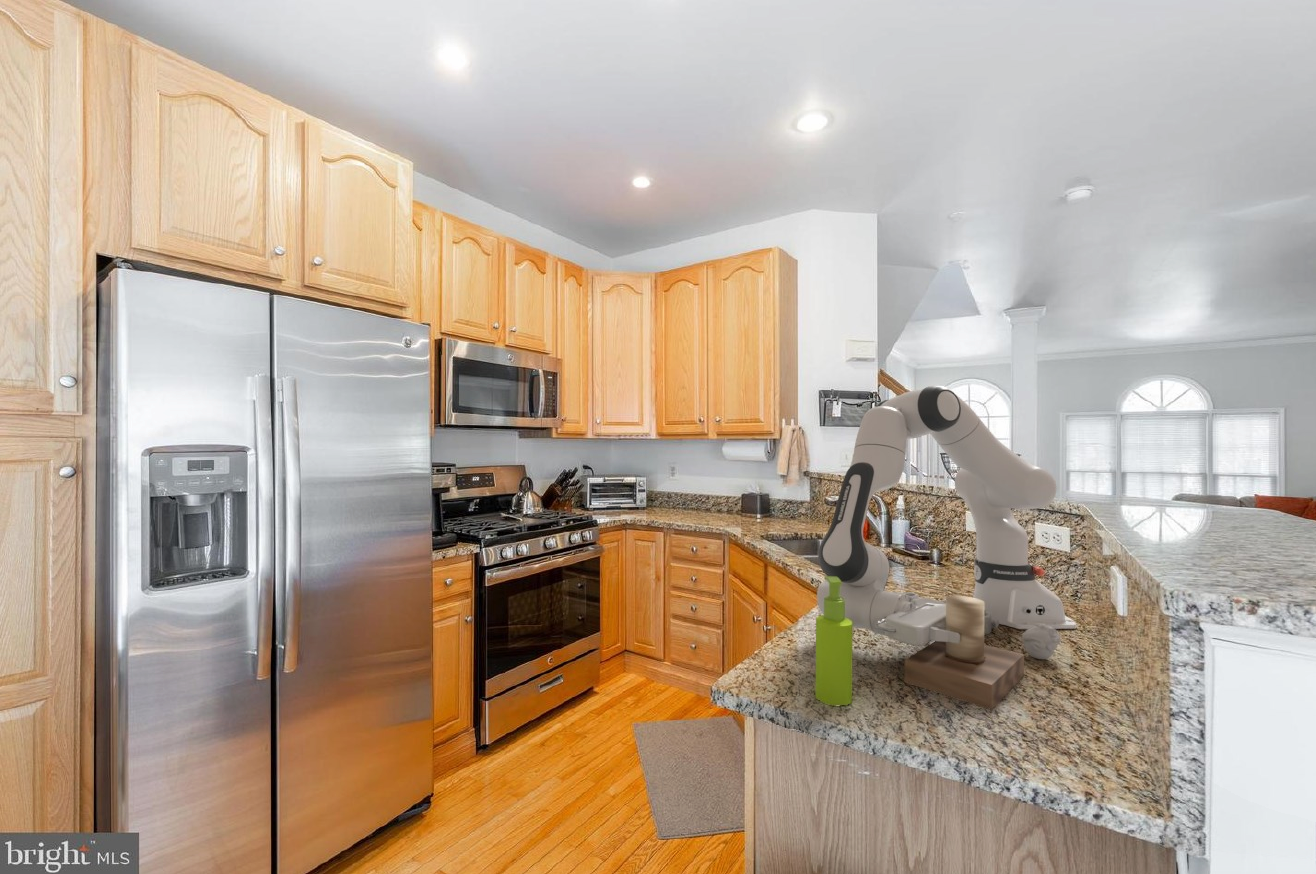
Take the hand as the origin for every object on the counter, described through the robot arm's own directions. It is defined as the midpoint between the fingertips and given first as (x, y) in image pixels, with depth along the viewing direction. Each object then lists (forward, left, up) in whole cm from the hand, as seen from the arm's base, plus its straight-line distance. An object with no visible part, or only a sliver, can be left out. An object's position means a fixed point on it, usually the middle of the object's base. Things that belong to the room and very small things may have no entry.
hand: (969, 632), depth 101 cm
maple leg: (+1, 0, -8) cm, 8 cm away
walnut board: (0, 0, -9) cm, 9 cm away
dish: (-12, -31, -9) cm, 35 cm away
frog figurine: (-20, -13, -9) cm, 25 cm away
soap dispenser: (+26, +11, -9) cm, 30 cm away
